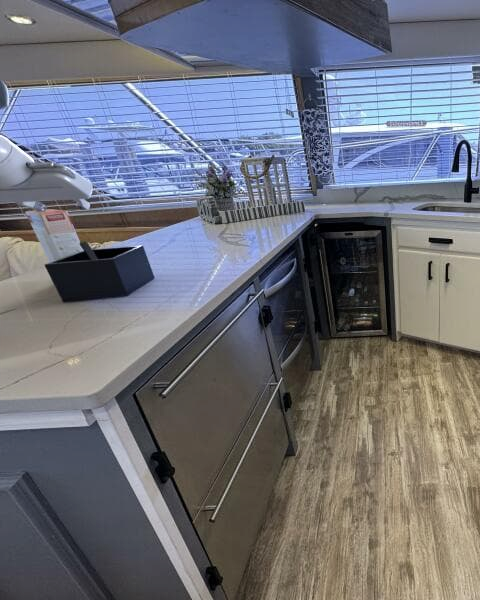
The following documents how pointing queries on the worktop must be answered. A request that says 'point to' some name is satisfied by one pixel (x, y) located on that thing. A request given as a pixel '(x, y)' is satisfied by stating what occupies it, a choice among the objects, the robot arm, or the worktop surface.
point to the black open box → (101, 273)
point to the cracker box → (55, 233)
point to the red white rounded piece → (88, 251)
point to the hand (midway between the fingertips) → (64, 208)
